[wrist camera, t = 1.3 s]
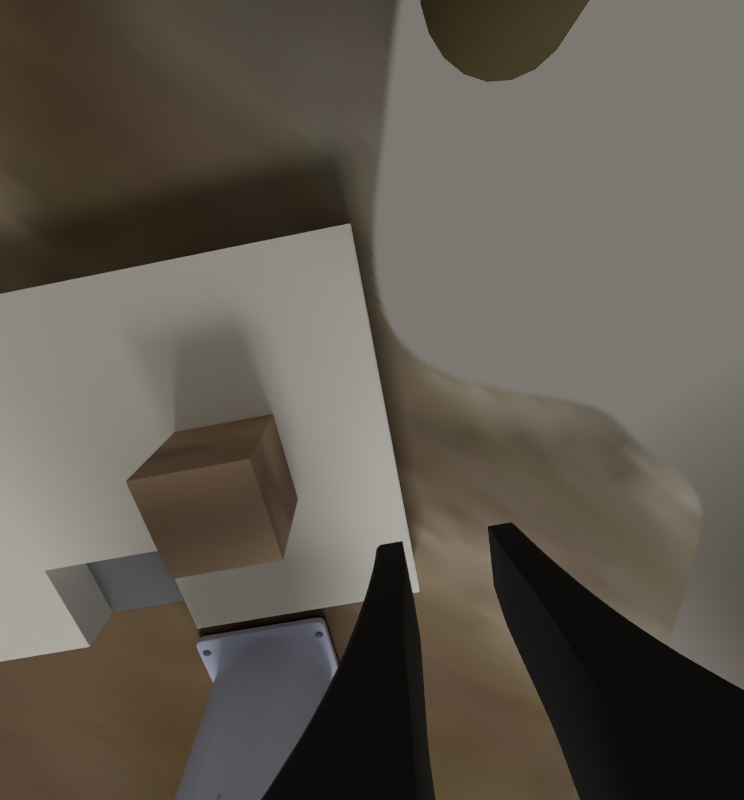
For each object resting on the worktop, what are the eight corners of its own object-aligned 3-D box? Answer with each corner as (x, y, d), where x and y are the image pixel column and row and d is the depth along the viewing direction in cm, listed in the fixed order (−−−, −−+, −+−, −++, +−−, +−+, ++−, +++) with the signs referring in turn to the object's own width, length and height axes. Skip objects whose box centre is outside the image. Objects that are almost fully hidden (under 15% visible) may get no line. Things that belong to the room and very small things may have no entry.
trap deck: (413, 557, 24) (425, 624, 20) (-74, 640, 25) (-163, 720, 21) (351, 226, 18) (348, 220, 13) (-298, 356, 19) (-489, 389, 14)
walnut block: (297, 498, 19) (283, 559, 16) (207, 515, 19) (170, 579, 16) (272, 413, 18) (249, 458, 14) (174, 432, 18) (125, 481, 14)
